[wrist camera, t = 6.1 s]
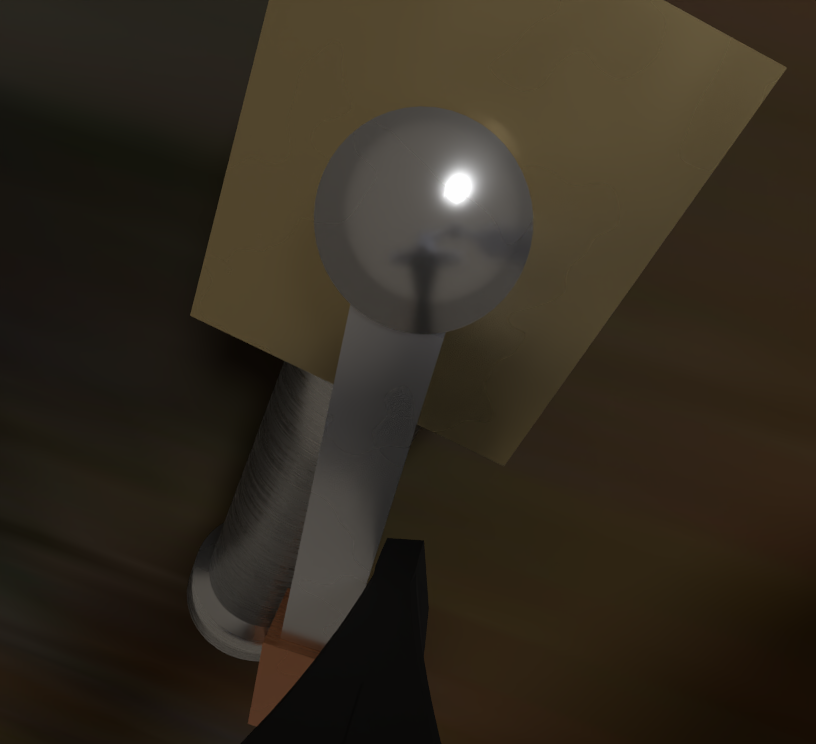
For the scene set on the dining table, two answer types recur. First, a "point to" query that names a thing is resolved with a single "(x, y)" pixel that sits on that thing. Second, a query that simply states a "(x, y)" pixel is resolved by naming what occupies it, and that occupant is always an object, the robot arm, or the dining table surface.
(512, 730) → the dining table surface
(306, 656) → the lever
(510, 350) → the valve pipe
